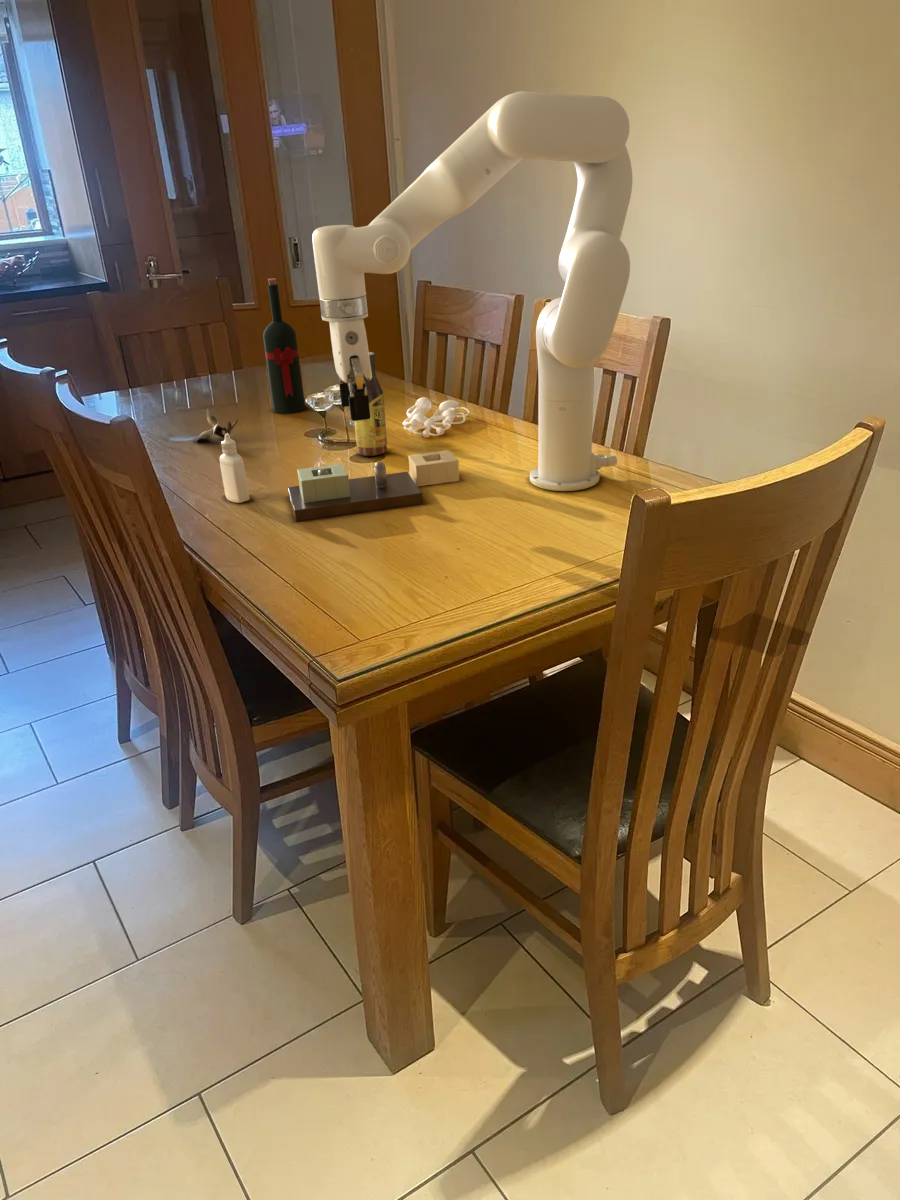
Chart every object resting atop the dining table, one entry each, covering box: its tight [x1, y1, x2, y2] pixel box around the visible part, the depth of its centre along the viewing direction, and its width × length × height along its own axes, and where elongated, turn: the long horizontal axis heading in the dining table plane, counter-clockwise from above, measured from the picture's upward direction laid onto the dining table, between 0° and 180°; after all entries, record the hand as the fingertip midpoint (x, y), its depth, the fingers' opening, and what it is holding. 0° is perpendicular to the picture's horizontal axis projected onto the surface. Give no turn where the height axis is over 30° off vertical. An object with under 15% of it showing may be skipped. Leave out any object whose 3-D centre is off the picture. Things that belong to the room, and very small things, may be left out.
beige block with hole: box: [407, 449, 460, 487], centre depth 160 cm, size 8×6×4 cm
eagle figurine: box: [194, 408, 239, 442], centre depth 188 cm, size 8×7×9 cm
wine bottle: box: [262, 277, 306, 414], centre depth 202 cm, size 8×10×30 cm
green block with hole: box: [296, 463, 350, 503], centre depth 150 cm, size 8×6×4 cm
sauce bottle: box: [353, 351, 388, 457], centre depth 172 cm, size 6×6×20 cm
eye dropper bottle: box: [218, 433, 250, 504], centre depth 153 cm, size 4×6×12 cm
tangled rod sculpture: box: [402, 396, 471, 439], centre depth 190 cm, size 19×14×4 cm
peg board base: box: [287, 461, 424, 522], centre depth 151 cm, size 22×12×6 cm, turn 105°
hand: (355, 412), depth 147 cm, fingers open, 9 cm apart
